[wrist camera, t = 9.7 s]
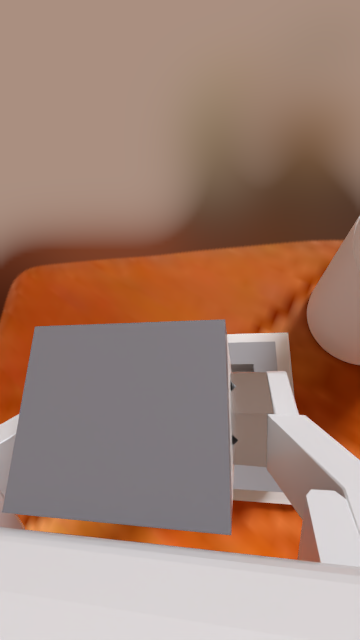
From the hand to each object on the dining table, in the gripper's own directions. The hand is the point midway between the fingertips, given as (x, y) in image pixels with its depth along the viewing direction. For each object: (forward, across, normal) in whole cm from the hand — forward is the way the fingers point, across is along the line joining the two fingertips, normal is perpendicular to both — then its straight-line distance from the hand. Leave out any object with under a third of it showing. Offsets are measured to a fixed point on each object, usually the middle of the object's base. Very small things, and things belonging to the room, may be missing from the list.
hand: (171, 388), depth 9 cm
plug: (+3, 0, +4) cm, 5 cm away
